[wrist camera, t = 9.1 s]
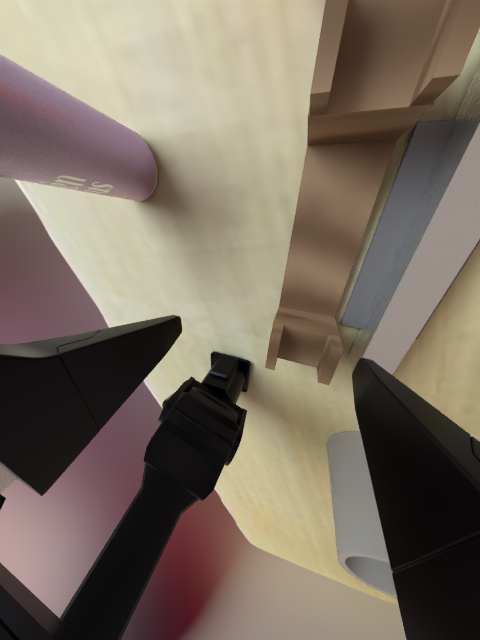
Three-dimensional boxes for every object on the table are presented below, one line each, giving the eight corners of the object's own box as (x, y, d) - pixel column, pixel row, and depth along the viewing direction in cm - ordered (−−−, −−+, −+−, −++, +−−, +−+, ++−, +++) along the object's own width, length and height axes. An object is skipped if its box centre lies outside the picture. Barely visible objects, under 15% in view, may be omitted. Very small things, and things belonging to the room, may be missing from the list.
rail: (376, 363, 20) (387, 383, 18) (348, 357, 21) (353, 374, 18) (581, -1, 9) (694, -95, 6) (502, 14, 10) (573, -65, 7)
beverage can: (149, 124, 17) (-270, -160, 5) (167, 195, 20) (-77, 134, 7) (108, 144, 19) (-259, -18, 7) (129, 206, 22) (-111, 173, 9)
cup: (333, 424, 27) (351, 542, 17) (406, 444, 24) (479, 599, 14) (321, 455, 31) (329, 566, 21) (382, 476, 28) (425, 614, 18)
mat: (414, 337, 18) (416, 339, 18) (340, 323, 20) (340, 325, 19) (555, 114, 10) (563, 110, 10) (414, 125, 12) (418, 122, 12)
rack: (321, 349, 22) (326, 393, 16) (273, 338, 23) (262, 374, 18) (430, 34, 11) (584, -211, 5) (324, 53, 12) (341, -114, 6)
